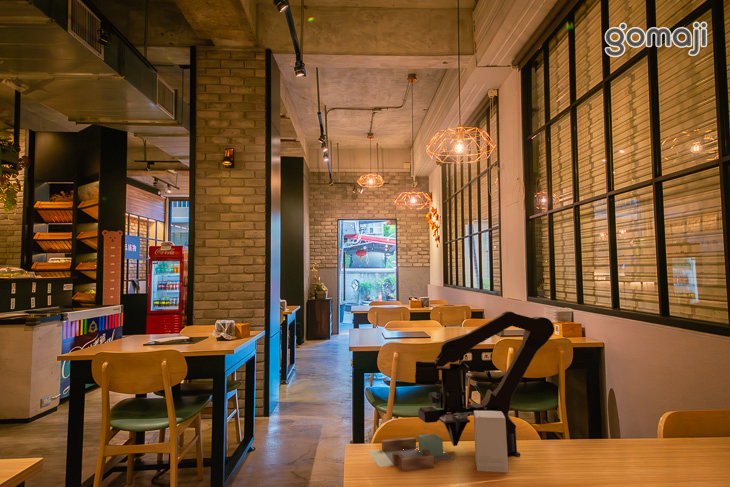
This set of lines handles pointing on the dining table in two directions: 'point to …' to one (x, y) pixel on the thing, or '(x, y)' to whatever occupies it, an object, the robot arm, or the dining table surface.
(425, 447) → the block
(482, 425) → the supplement box
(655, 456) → the dining table surface
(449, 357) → the robot arm
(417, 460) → the tunnel
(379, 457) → the grey board
